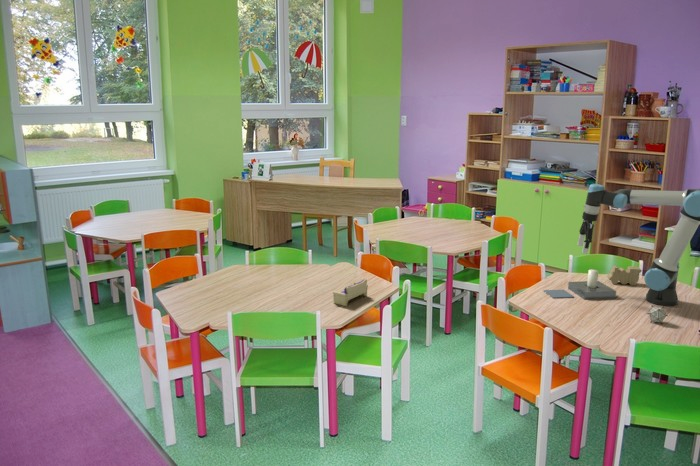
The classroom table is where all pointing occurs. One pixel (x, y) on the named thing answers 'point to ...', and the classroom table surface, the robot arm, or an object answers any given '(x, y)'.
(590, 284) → the end plug
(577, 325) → the classroom table surface
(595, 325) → the classroom table surface
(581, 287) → the housing
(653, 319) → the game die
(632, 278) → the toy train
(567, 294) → the mat
